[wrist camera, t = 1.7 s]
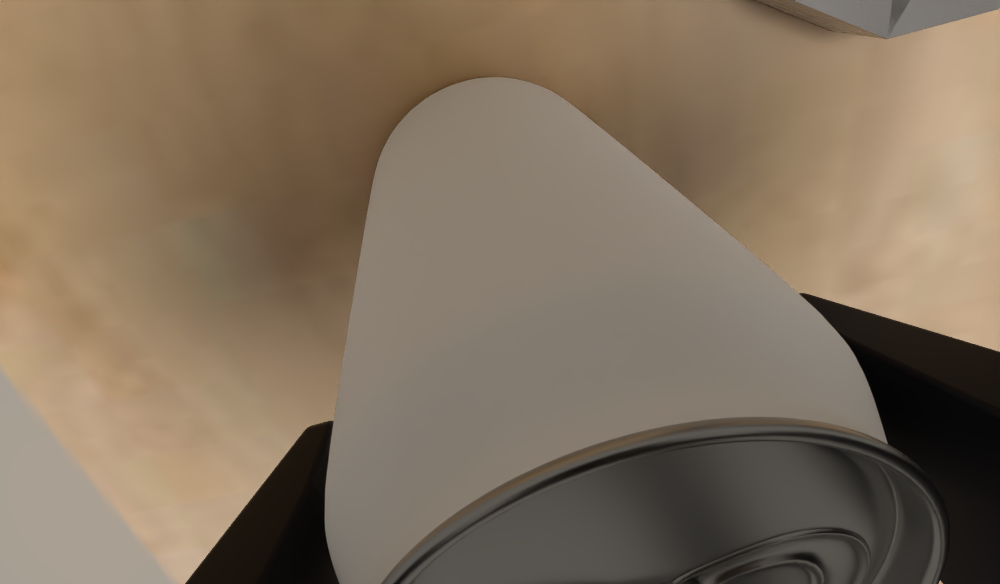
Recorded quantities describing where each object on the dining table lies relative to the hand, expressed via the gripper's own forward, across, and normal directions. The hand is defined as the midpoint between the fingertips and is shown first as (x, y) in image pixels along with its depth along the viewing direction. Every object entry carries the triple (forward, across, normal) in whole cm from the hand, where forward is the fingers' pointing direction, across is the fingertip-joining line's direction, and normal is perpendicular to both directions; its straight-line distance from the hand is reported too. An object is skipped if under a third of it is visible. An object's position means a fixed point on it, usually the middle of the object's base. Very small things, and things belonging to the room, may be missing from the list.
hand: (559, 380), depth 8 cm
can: (+8, 0, 0) cm, 8 cm away
